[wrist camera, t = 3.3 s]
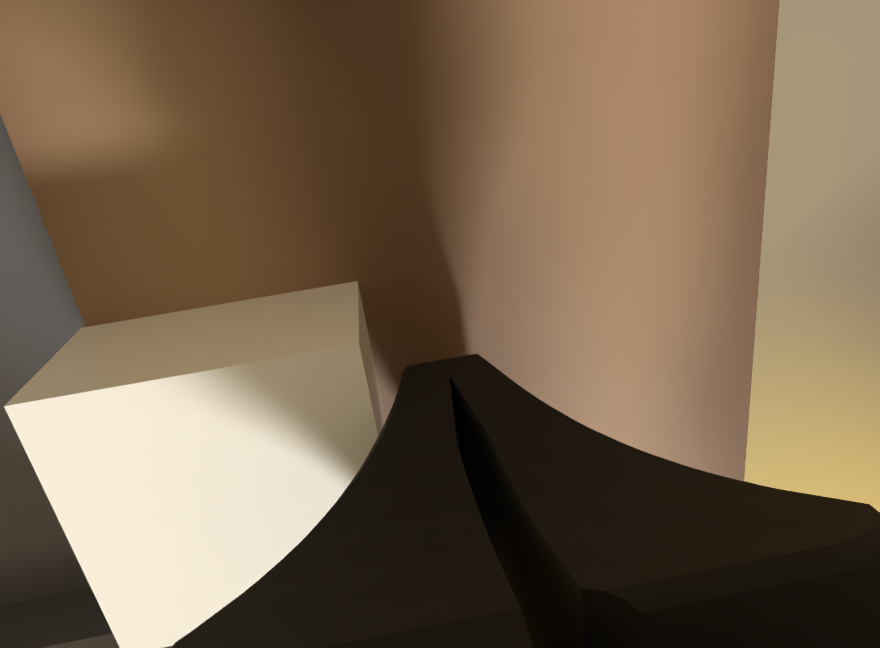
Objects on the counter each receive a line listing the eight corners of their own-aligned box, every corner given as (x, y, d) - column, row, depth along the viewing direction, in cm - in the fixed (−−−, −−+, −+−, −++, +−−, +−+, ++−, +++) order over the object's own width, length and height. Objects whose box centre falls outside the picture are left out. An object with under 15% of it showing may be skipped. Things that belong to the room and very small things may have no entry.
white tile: (357, 281, 11) (359, 344, 8) (400, 497, 12) (411, 597, 10) (81, 328, 10) (3, 406, 8) (166, 542, 12) (123, 655, 10)
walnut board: (699, -704, 9) (856, -1048, 6) (676, 472, 17) (738, 554, 14) (-170, -636, 8) (-436, -987, 5) (240, 556, 16) (217, 660, 13)
